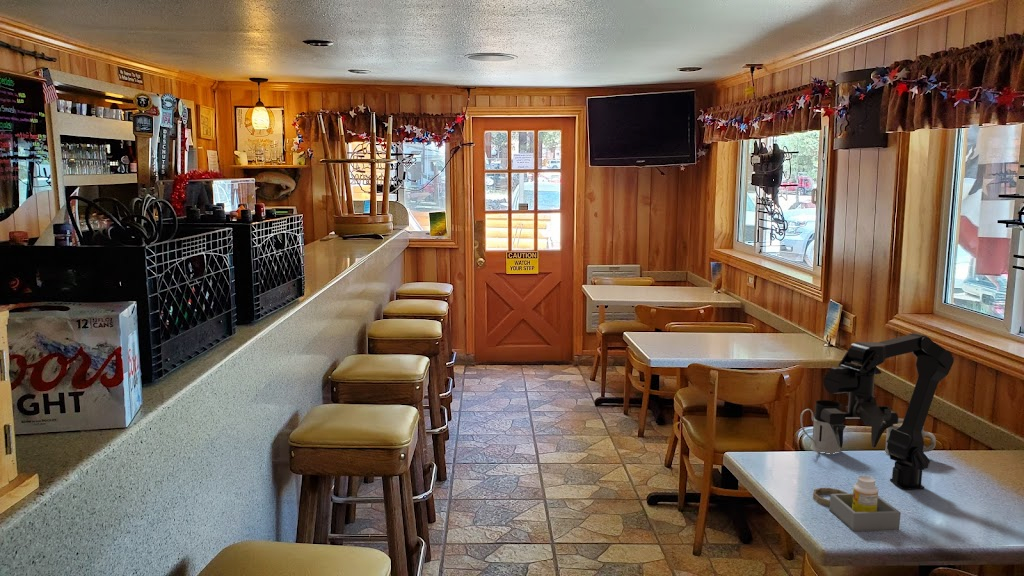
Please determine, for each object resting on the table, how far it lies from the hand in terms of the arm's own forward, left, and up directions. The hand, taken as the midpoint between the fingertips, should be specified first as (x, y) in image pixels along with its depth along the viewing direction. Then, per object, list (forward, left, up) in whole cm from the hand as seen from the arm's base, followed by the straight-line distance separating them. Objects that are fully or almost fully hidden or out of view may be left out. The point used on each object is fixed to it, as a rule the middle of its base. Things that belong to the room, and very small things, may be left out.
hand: (856, 447), depth 202 cm
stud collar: (+8, +4, -13) cm, 16 cm away
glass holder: (-6, -33, -13) cm, 36 cm away
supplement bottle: (+6, +16, -13) cm, 21 cm away
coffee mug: (-32, -27, -13) cm, 44 cm away
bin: (+6, +16, -13) cm, 21 cm away
